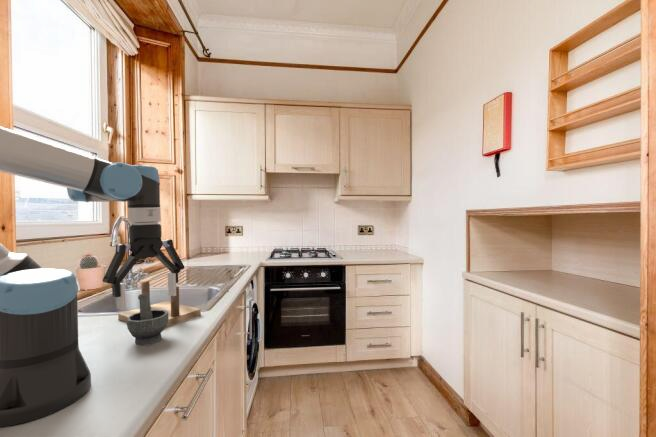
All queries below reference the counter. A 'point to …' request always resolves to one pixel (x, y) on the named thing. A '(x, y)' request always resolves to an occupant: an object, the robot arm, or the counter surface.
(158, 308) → the peg board
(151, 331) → the mortar and pestle
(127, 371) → the counter surface
